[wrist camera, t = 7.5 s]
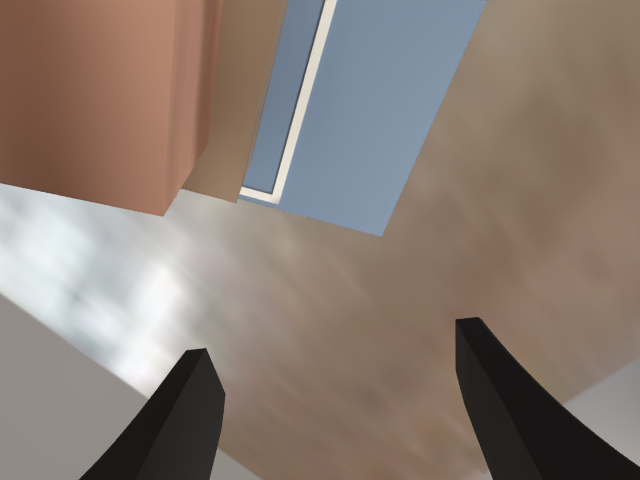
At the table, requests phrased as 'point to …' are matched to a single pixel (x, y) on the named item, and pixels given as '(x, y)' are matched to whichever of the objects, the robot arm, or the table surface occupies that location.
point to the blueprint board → (354, 104)
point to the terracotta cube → (106, 97)
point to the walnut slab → (238, 95)
